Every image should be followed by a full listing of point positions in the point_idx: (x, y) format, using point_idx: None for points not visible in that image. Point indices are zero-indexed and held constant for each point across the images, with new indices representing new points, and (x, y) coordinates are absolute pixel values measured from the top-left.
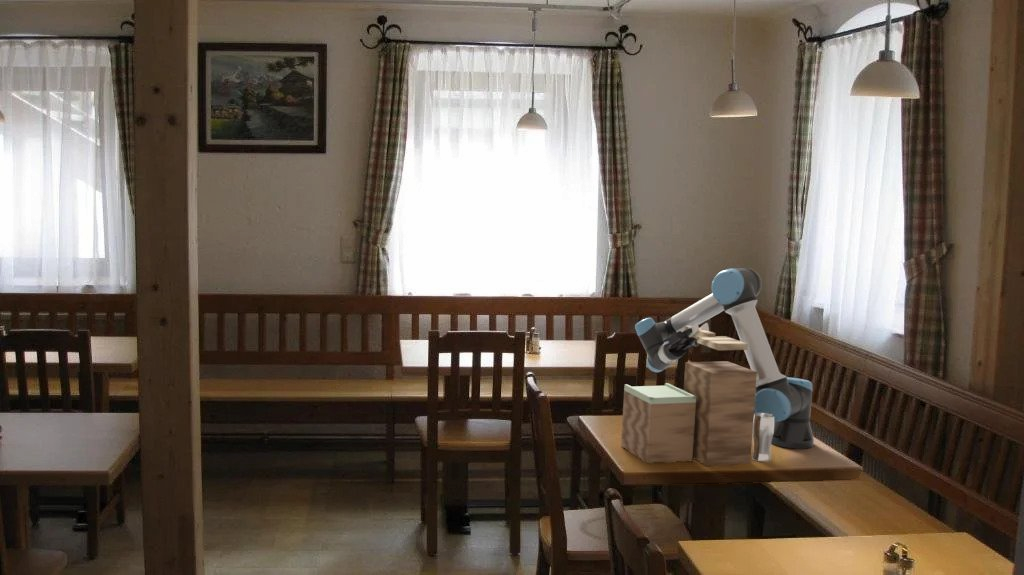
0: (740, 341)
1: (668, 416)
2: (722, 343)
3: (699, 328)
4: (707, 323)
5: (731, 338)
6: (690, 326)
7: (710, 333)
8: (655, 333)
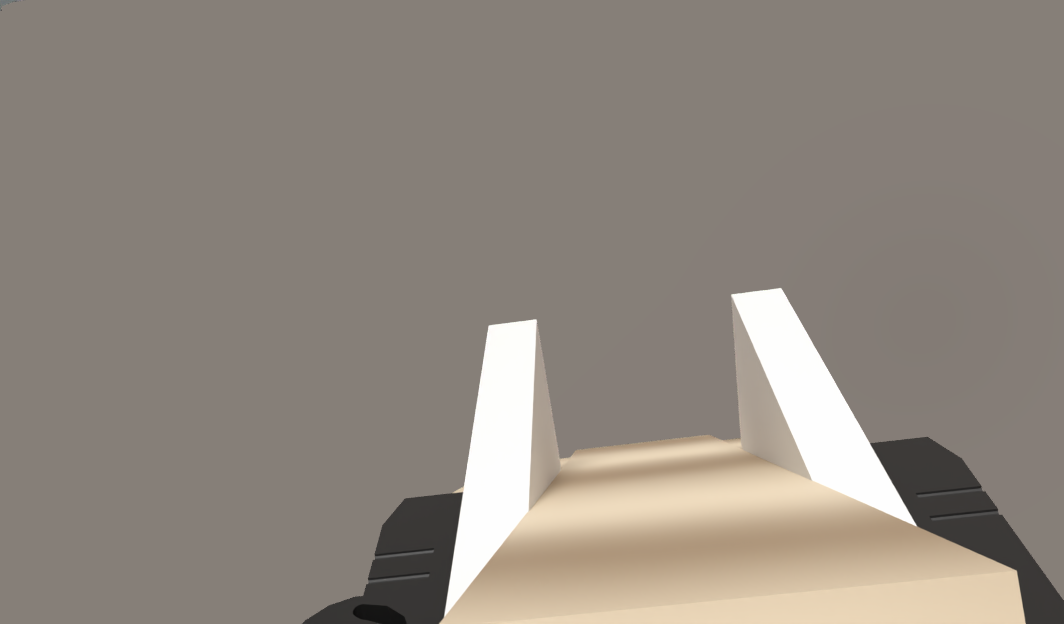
0: None
1: None
2: (729, 441)
3: (570, 499)
4: (497, 336)
5: (462, 491)
6: (700, 550)
7: (660, 440)
8: None
